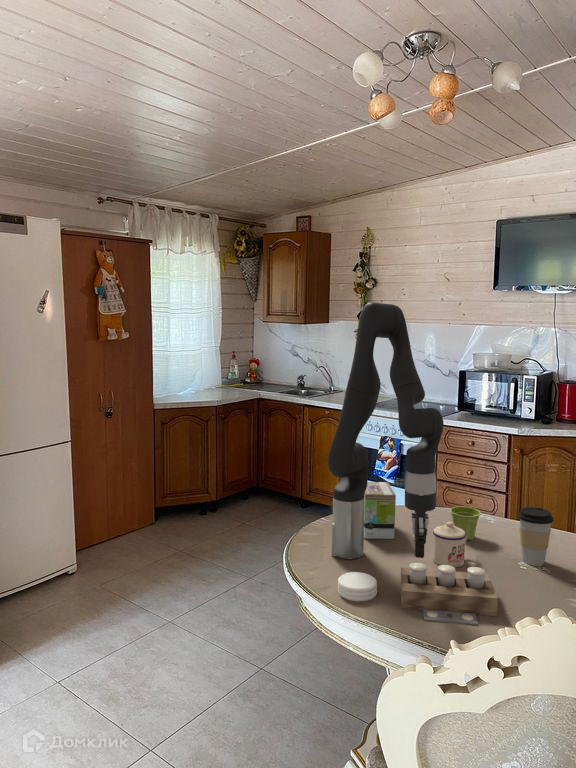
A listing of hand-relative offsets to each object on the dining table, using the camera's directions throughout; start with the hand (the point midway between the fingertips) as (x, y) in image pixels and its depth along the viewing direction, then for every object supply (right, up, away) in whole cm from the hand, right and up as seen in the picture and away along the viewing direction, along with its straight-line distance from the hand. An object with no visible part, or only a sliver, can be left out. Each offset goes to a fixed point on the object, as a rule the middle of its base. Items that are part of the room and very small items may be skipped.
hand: (419, 556), depth 141 cm
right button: (+13, -7, -2) cm, 15 cm away
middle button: (+7, -7, 0) cm, 9 cm away
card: (+5, -12, -9) cm, 15 cm away
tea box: (-4, -6, +46) cm, 47 cm away
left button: (0, -7, +1) cm, 7 cm away
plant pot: (+24, -6, +40) cm, 47 cm away
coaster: (-15, -11, +4) cm, 19 cm away
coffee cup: (+38, -8, +22) cm, 45 cm away
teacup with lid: (+15, -8, +23) cm, 28 cm away
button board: (+7, -11, 0) cm, 13 cm away
